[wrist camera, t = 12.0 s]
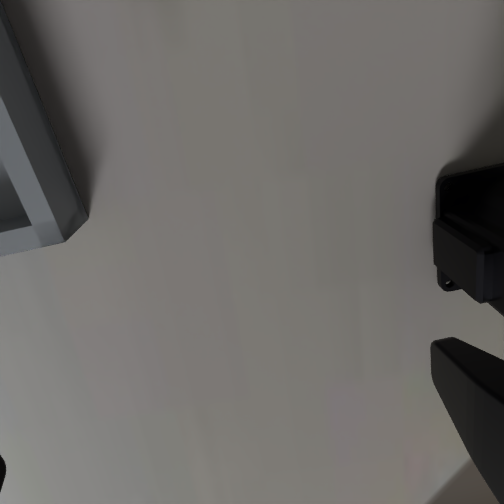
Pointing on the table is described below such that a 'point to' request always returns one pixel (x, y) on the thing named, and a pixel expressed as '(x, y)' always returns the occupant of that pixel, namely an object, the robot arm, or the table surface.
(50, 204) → the tray
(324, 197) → the table surface
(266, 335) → the table surface
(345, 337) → the table surface
